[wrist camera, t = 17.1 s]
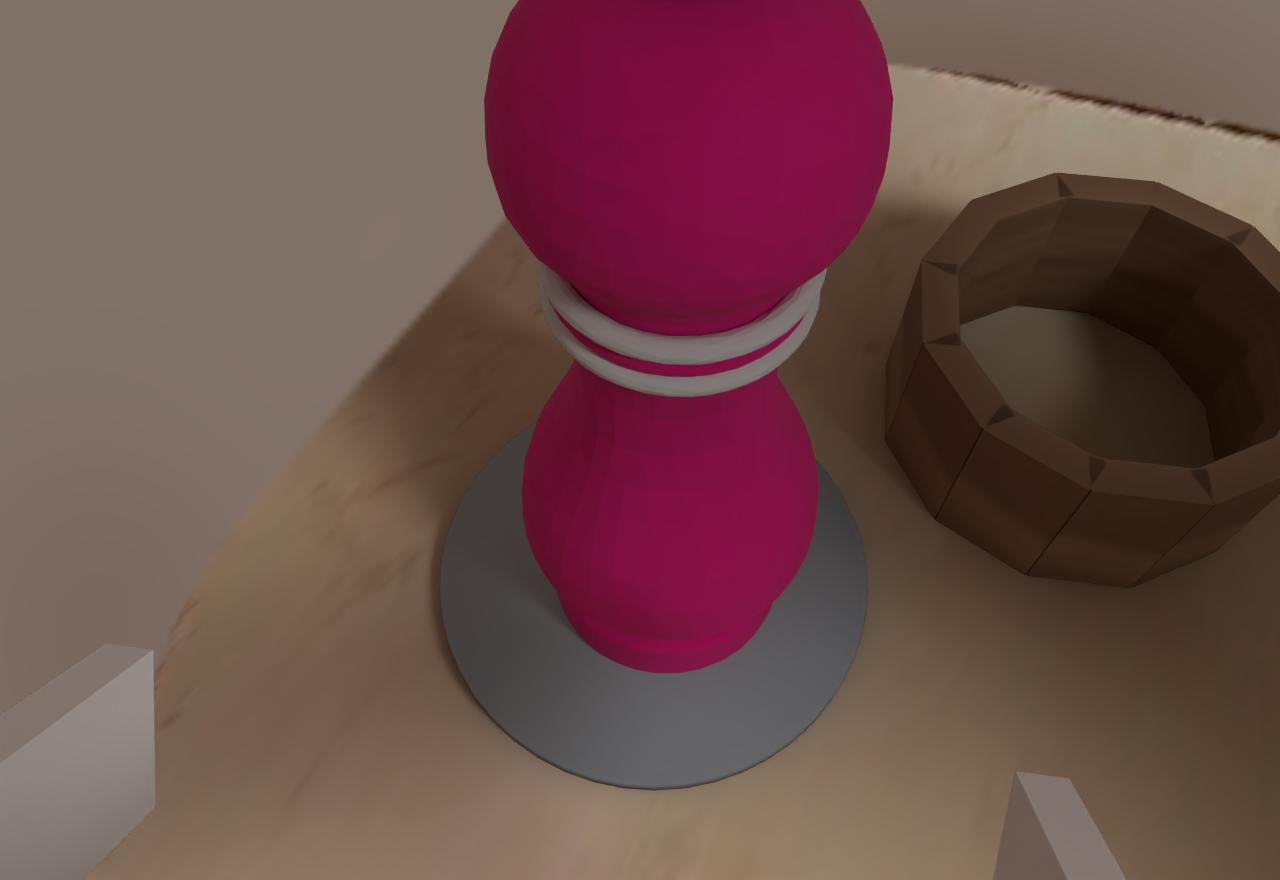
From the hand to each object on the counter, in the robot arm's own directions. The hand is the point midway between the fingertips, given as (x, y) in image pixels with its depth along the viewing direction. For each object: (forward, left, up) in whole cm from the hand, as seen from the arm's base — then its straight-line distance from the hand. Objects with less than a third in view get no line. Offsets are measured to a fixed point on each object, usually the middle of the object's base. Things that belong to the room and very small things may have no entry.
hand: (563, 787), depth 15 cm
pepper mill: (+4, -8, -11) cm, 14 cm away
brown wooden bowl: (-3, -20, -11) cm, 23 cm away
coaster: (+4, -8, -11) cm, 14 cm away
